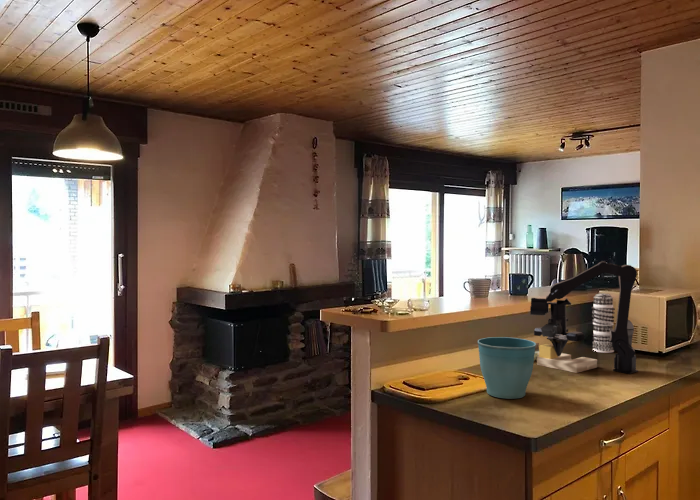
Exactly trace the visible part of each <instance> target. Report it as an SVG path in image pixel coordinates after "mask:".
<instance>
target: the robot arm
mask: <svg viewBox="0 0 700 500" xmlns="http://www.w3.org/2000/svg"><path fill="white" fill-rule="evenodd" d="M604 273H606V274H610V275H613V276H617V277H618V285H619V294H618V303H617V311H616V312H617V314H616V321H615V325H616V326H614V329H613V330H612V329H610V338H609V341H610V342H611V344H612V347H613V348H614V349H613V350H614V351H616V352H617V353H615V355H614V358H613V367H614V369H612V371H613V372H618V373H624V374H629V375H631V374H634V373H638V372H639V370H638V369H637V355H636V351H635V349H634V347H633V345H632V346H631V345H629V339H628V330H627V324H628V320H629V315H630V314H629V313H630V306H631V297H632V290H633V287H634V285H635V282H636V279H637V275H638V270H637V269H636V268H635V267H634V266H632V265H631V264H623V265H619V264H613V263H611V262H609V263H608V262H607V261H600V262H598V263H597V264H595V265H593V266H592V267H590V268H588V269H586V270H584V271H582V272H580V273H578V274H577V275H575V276H573V277H571V278H569V279H566V280H562V281H559V282H557V283H554V284H553V285H552V286H551V287H550V290H549V292H550V293H549V294H548V295H546V297H545V298H538V297H531V298H530V307H529V311H530V315H531V316H544V317H546V314H549V311H550V318H548V319H547V323H546V324H544V325H543V326H541V327H535V328H534V329H533V336H537V337H545V338H546V340H548V341H550V342H551V345H553V346H554V349H555V352H556V354H557V356H560V355H561V353H563V350H564V348H565V347H566V345H567V343H568V342H569V341H571V342H582V341H585V334H584V332H581V331H570V332H569V328H567V322H569V318H567V306H572V302H571V301H570V300H569V298H567V297H566V296H568V294H570V293H571V292H572V291H574V290H575V289H576V288H578V287H579V286H581V285H583V284H585V283H587V282H589V281H590V280H592V279H594V278H596V277H599V276H600V275H601V274H604ZM565 297H566V298H565ZM564 298H565V299H564ZM555 300H556V301H555ZM554 301H555V302H554ZM549 306H550V307H549Z"/></svg>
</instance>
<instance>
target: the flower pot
mask: <svg viewBox="0 0 700 500" xmlns="http://www.w3.org/2000/svg"><path fill="white" fill-rule="evenodd" d="M536 343H537V342H536V341H532V340H529V339H524V338H520V337H519V338H517V337H506V336H495V337H494V336H492V337H484V338H479V339H477V344H478V345H477V346H478V357H479V366H480V370H481V374H482V377H483V379H484V383H485V387H486V393H487V394H488V395H489V396H492V397H495V398H499V399H507V400H508V399H509V400H510V399H511V400H513V399H514V400H516V399H521V398H524V397H525V396H526V392H527V387H528V385H529V381H530V379H531V377H532V374H533V369H534V363H535V361H534V354H535V347H536Z"/></svg>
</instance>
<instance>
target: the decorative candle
mask: <svg viewBox="0 0 700 500" xmlns="http://www.w3.org/2000/svg"><path fill="white" fill-rule="evenodd" d="M613 300H614V297H613V296H612V295H611V294H610V293H605V292H604V293H603V292H602V293H596V294H595V295H594V296H593V306H591V309H592V311H591V314H592V315H591V317H592V318H593V319H592V325H593V330H592V331H593V334H592V336H593V337H592V340H593V341H592V351H593V350H594V351H593V352H595V351H596V352H597V353H602V354H603V353H604V354H605V353H609V354H610V353H614V352H615V350H614V348H613V347H612V344H611V342H610V341H609V338H610V329H612V330H614V329H613V328H614V325H615V324H614V323H615V320H614V319H615V316H614V314H615V308H614V301H613Z"/></svg>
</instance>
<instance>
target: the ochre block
mask: <svg viewBox="0 0 700 500" xmlns="http://www.w3.org/2000/svg"><path fill="white" fill-rule="evenodd" d="M539 357H543V358H548V359H553V358H557V357H558V356H557V354H556V352H555V349H554V346H553V344H549V343H545V344H540V345H539Z"/></svg>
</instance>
